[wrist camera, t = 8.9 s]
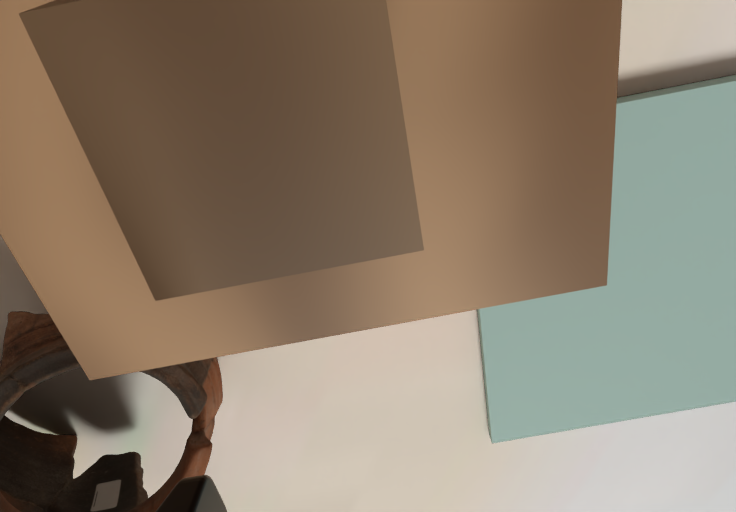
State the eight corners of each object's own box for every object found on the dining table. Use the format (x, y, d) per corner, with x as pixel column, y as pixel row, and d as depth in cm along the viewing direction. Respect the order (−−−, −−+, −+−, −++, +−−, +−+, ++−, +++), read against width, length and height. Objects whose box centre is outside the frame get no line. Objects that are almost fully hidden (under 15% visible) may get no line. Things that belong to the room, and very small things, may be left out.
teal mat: (930, 36, 18) (944, 39, 18) (816, 378, 26) (824, 386, 26) (459, 128, 19) (462, 133, 18) (489, 434, 27) (492, 443, 26)
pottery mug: (-86, 300, 21) (-154, 385, 14) (170, 236, 25) (215, 278, 18) (19, 554, 25) (6, 723, 18) (229, 463, 29) (287, 571, 22)
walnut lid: (623, -532, 8) (968, -1034, 4) (593, 267, 14) (698, 410, 10) (-290, -311, 8) (-904, -523, 4) (100, 359, 15) (17, 528, 11)
